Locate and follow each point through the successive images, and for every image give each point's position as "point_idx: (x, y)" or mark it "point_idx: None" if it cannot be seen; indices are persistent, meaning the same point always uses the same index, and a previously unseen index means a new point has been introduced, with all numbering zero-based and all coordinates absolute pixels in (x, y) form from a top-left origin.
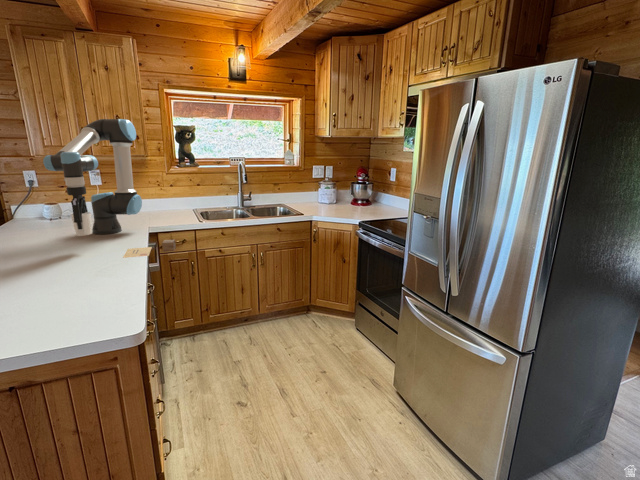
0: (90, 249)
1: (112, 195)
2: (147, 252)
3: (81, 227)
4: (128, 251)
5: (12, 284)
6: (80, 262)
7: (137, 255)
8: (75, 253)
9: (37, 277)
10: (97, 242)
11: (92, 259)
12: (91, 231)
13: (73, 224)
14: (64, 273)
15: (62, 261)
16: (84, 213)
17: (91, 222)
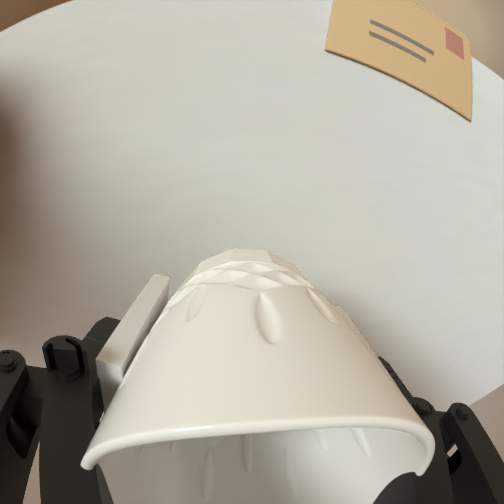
0: (205, 245)
1: None
2: (429, 18)
3: (390, 367)
4: (386, 62)
5: (477, 394)
6: (438, 281)
7: (458, 62)
8: None
9: (478, 366)
10: (56, 212)
11: (428, 235)
12: (281, 261)
13: (275, 447)
14: (497, 312)
15: (379, 348)
16: (102, 459)
17: (280, 289)
